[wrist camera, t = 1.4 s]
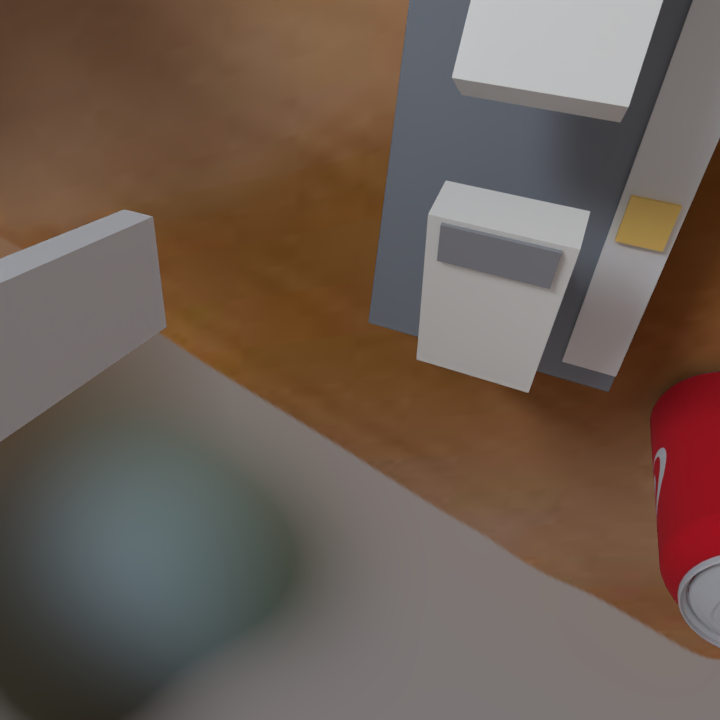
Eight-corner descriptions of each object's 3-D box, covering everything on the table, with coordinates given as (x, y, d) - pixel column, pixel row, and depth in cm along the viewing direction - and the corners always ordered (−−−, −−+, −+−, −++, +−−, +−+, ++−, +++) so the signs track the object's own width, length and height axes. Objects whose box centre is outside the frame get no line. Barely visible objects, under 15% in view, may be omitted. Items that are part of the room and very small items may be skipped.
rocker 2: (430, 327, 27) (415, 361, 25) (445, 180, 20) (426, 216, 19) (538, 358, 25) (527, 395, 24) (590, 211, 19) (579, 252, 18)
